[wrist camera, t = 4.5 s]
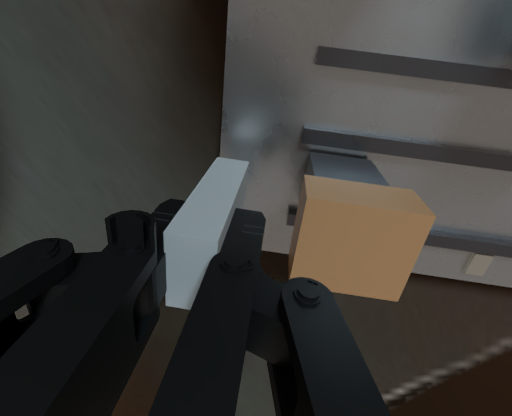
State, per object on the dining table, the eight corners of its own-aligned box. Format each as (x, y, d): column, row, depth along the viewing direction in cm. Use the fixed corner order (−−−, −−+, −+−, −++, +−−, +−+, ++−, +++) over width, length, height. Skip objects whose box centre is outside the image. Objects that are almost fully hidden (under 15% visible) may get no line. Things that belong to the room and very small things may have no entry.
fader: (288, 208, 16) (288, 285, 11) (300, 144, 15) (307, 198, 9) (362, 219, 16) (397, 301, 11) (383, 155, 15) (436, 216, 9)
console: (221, 226, 20) (212, 249, 18) (247, -171, 12) (237, -225, 9) (593, 281, 19) (633, 312, 17) (916, -105, 11) (1086, -147, 8)
